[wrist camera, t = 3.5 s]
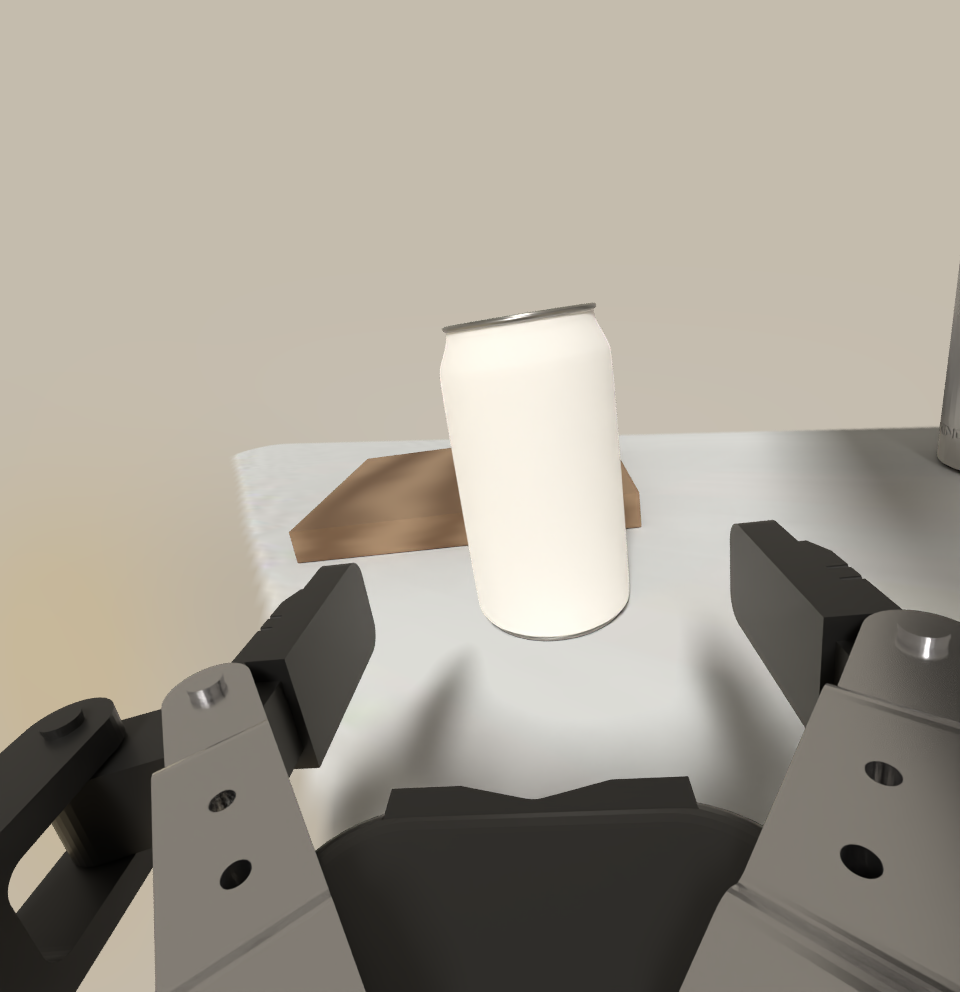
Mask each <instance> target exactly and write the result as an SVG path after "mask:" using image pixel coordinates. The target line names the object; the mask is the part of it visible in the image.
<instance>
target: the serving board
mask: <svg viewBox="0 0 960 992" xmlns="http://www.w3.org/2000/svg"><path fill="white" fill-rule="evenodd" d="M620 462H621V475H622V488H623V501H624V515H625V528H634V527H641V515H640V499H639V491H638V490H637V488H636V486H635V484H634V483H633V481H632V479H631V477H630V476H629V474H628V472H627V470H626V468H625V467H624V465H623V463H622V461H621V460H620ZM289 534H290V538H291V541H292V545H293V548H294V551H295V555H296V558H297V562H298V563H303V562H312V561H322V560H331V559H340V558H350V557H359V556H369V555H378V554H388V553H397V552H407V551H416V550H426V549H435V548H445V547H454V546H464V545H468V540H467V534H466V528H465V523H464V517H463V512H462V506H461V500H460V495H459V489H458V483H457V477H456V472H455V466H454V460H453V455H452V449H451V448H447V449H440V450H432V451H424V452H417V453H409V454H402V455H394V456H386V457H379V458H371V459H367V460H366V461H365V462H364V463H363V464H362V465H361V466H360V467H359V468H358V469H356V470H355V471H354V472H353V473H352V474H351V475H350V476H349V477H348V478H347V479H346V480H345V481H344V482H342V483H341V484H340V485H339V486H338V487H337V488H336V489H335V490H334V491H333V492H332V493H331V494H330V495H329V496H327V497H326V498H325V499H324V500H323V501H322V502H321V503H320V504H319V505H318V506H317V507H316V508H315V509H313V510H312V511H311V512H310V513H309V514H308V515H307V516H306V517H305V518H304V519H303V520H302V521H301V522H300V523H298V524H297V525H296V526H295V527H294V528H293V529H292V530H291V531H290V532H289Z"/></svg>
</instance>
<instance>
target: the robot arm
mask: <svg viewBox="0 0 960 992" xmlns="http://www.w3.org/2000/svg"><path fill="white" fill-rule="evenodd" d="M939 431H940V432H939V440H938V449H937V457H938V459H939V460H940V461H941V462H943V463H944V464H946V465H948V466H950V467H952V468H954V469H957V470H960V266H959V274H958V283H957V291H956V299H955V307H954V317H953V324H952V333H951V341H950V349H949V357H948V365H947V374H946V382H945V390H944V398H943V408H942V415H941V422H940V429H939ZM730 592H731V602H732V607H733V611H734V614H735V617H736V620H737V622H738V624H739V625H740V627H741V628H742V630H743V631H744V633H745V635H746V636H747V638H748V639H749V641H750V642H751V644H752V646H753V647H754V649H755V650H756V652H757V653H758V655H759V656H760V658H761V660H762V661H763V663H764V664H765V666H766V667H767V669H768V670H769V672H770V674H771V675H772V677H773V678H774V680H775V681H776V683H777V684H778V686H779V688H780V689H781V691H782V692H783V694H784V695H785V697H786V698H787V700H788V702H789V703H790V705H791V706H792V708H793V709H794V711H795V712H796V714H797V716H798V717H799V719H800V720H801V722H802V723H803V725H804V726H805V731H804V733H803V735H802V738H801V740H800V742H799V745H798V747H797V749H796V752H795V754H794V756H793V759H792V761H791V763H790V766H789V768H788V770H787V773H786V775H785V777H784V780H783V782H782V784H781V787H780V789H779V791H778V794H777V796H776V798H775V801H774V803H773V805H772V808H771V810H770V812H769V815H768V817H767V819H766V822H765V824H764V826H763V825H761V824H759V823H757V822H755V821H753V820H751V819H748V818H746V817H743V816H741V815H738V814H736V813H733V812H731V811H728V810H724V809H721V808H717V807H714V806H711V805H706V804H701V803H697V802H696V799H695V796H694V793H693V790H692V787H691V784H690V781H689V778H688V776H685V777H661V778H638V779H614V780H608V781H604V782H601V783H597V784H593V785H589V786H586V787H582V788H578V789H575V790H571V791H567V792H564V793H560V794H556V795H553V796H549V797H545V798H541V799H525V798H519V797H514V796H509V795H504V794H499V793H494V792H489V791H483V790H478V789H473V788H468V787H463V786H451V787H427V788H404V789H392V791H391V794H390V798H389V801H388V805H387V808H386V811H385V814H384V815H381V816H377V817H375V818H372V819H369V820H367V821H364V822H362V823H359V824H357V825H355V826H353V827H351V828H349V829H347V830H345V831H344V832H342V833H340V834H339V835H337V836H336V837H334V838H332V839H331V840H329V841H328V842H326V843H325V844H324V845H322V846H321V847H320V848H318V849H317V850H316V851H315V850H314V847H313V844H312V841H311V839H310V836H309V833H308V830H307V827H306V825H305V822H304V819H303V816H302V813H301V811H300V808H299V805H298V802H297V799H296V797H295V794H294V792H293V788H292V785H291V783H290V780H289V777H290V775H291V773H292V771H293V769H304V768H320V766H321V764H322V762H323V759H324V757H325V755H326V753H327V751H328V749H329V746H330V744H331V742H332V740H333V738H334V736H335V733H336V731H337V729H338V727H339V725H340V722H341V720H342V718H343V716H344V714H345V712H346V709H347V707H348V705H349V703H350V701H351V699H352V696H353V694H354V692H355V690H356V688H357V685H358V683H359V681H360V679H361V677H362V675H363V672H364V670H365V668H366V666H367V664H368V662H369V659H370V657H371V655H372V653H373V650H374V646H375V624H374V620H373V616H372V612H371V608H370V604H369V600H368V596H367V592H366V589H365V585H364V581H363V577H362V573H361V570H360V568H359V566H358V565H357V564H356V563H349V564H339V565H330V566H322V567H321V568H320V569H319V570H318V571H317V572H316V574H315V575H314V576H313V577H312V579H311V580H310V581H309V582H308V584H307V585H306V586H305V587H304V589H301V590H299V591H298V592H296V593H295V594H293V595H292V596H291V597H289V598H288V599H286V600H285V601H283V602H282V603H281V604H280V605H279V607H278V608H277V609H276V610H275V611H274V612H273V614H272V615H271V616H270V619H268V620H267V621H266V622H265V623H264V624H263V626H262V627H261V631H258V632H257V633H256V634H255V635H254V636H253V637H252V639H251V640H250V641H249V642H248V643H247V645H246V646H245V647H244V648H243V649H242V651H241V652H240V653H239V654H238V655H237V657H236V658H235V659H234V660H233V661H232V662H231V663H225V664H220V665H216V666H212V667H209V668H207V669H204V670H202V671H199V672H197V673H195V674H193V675H191V676H190V677H188V678H186V679H185V680H183V681H182V682H181V683H179V684H178V685H177V686H175V687H174V688H173V689H172V690H171V691H170V692H169V693H168V694H167V696H166V697H165V699H164V701H163V703H162V708H161V709H160V710H157V711H153V712H149V713H146V714H142V715H139V716H136V717H131V718H128V719H125V720H121V719H120V717H119V715H118V712H117V710H116V708H115V706H114V704H113V702H112V701H111V700H110V699H107V698H91V699H86V700H82V701H79V702H76V703H73V704H70V705H68V706H65V707H63V708H61V709H59V710H57V711H55V712H53V713H51V714H49V715H47V716H46V717H44V718H43V719H41V720H40V721H38V722H37V723H35V724H34V725H32V726H31V727H30V728H29V729H27V730H26V731H25V732H24V733H23V734H21V736H19V737H18V738H17V739H16V740H15V741H14V742H13V743H11V744H10V745H9V746H8V747H7V748H6V749H5V750H4V751H2V752H1V753H0V992H76V990H77V989H78V987H79V986H80V984H81V982H82V981H83V979H84V978H85V976H86V974H87V973H88V971H89V969H90V968H91V966H92V965H93V963H94V961H95V960H96V958H97V957H98V955H99V953H100V951H101V950H102V949H103V947H104V945H105V944H106V942H107V940H108V939H109V937H110V936H111V934H112V932H113V931H114V929H115V927H116V926H117V924H118V923H119V921H120V919H121V918H122V916H123V915H124V913H125V911H126V910H127V908H128V906H129V905H130V903H131V902H132V900H133V899H134V897H135V895H136V893H137V892H138V890H139V889H140V887H141V886H142V884H143V882H144V881H145V879H146V878H147V876H148V874H149V873H150V871H151V869H152V868H153V893H154V938H155V986H156V987H155V992H960V622H958V621H955V620H953V619H950V618H947V617H944V616H941V615H937V614H933V613H928V612H922V611H915V610H902V609H901V608H900V607H899V606H897V605H896V604H895V603H894V602H893V601H891V600H890V599H889V598H888V597H887V596H885V595H884V594H883V593H882V592H881V591H879V590H878V589H877V588H876V587H875V586H873V585H872V584H871V583H870V582H869V581H867V580H866V579H862V577H861V575H860V574H859V573H858V572H856V571H855V570H854V569H853V568H852V567H848V564H847V563H846V562H844V561H843V560H842V559H841V558H840V557H838V556H837V555H836V554H835V553H833V552H832V551H831V550H828V549H826V548H823V547H821V546H818V545H816V544H814V543H811V542H809V541H797V540H796V539H795V538H794V537H793V536H792V535H790V534H789V533H788V532H787V531H786V530H785V529H784V528H783V527H782V526H780V525H779V524H778V523H777V522H776V521H774V520H768V521H759V522H749V523H739V524H734V525H733V526H732V528H731V532H730ZM51 823H52V825H53V827H54V829H55V830H56V832H57V834H58V836H59V838H60V839H61V841H62V843H63V845H64V847H65V849H66V852H65V853H64V854H63V856H62V857H61V858H60V859H59V860H58V862H57V863H56V864H55V866H54V867H53V868H52V869H51V871H50V872H49V873H48V874H47V875H46V877H45V878H44V879H43V880H42V882H41V883H40V884H39V885H38V887H37V888H36V889H35V890H34V892H33V893H32V894H31V895H30V897H29V898H28V899H27V901H26V902H25V903H24V904H23V906H22V907H21V908H20V909H19V910H18V912H17V913H15V912H14V910H13V908H12V907H11V905H10V903H9V900H8V885H9V881H10V878H11V875H12V873H13V870H14V868H15V867H16V865H17V864H18V862H19V861H20V859H21V858H22V857H23V856H24V854H25V853H26V852H27V851H28V850H29V849H30V847H31V846H32V845H33V844H34V843H35V842H36V841H37V839H38V838H39V837H40V836H41V835H42V833H44V831H45V830H46V829H47V828H48V827H49V826H50V825H51Z"/></svg>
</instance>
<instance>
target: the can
mask: <svg viewBox="0 0 960 992" xmlns="http://www.w3.org/2000/svg"><path fill="white" fill-rule="evenodd" d="M595 307H596V304H595V303H588V304H580V305H574V306H567V307H560V308H554V309H547V310H541V311H535V312H529V313H523V314H517V315H511V316H504V317H498V318H492V319H487V320H481V321H475V322H470V323H464V324H458V325H453V326H448V327H444V328H443V329H442V330H443V332H445V333H446V346H445V350H444V354H443V358H442V362H441V366H440V383H441V389H442V396H443V402H444V408H445V414H446V419H447V425H448V431H449V437H450V443H451V449H452V455H453V460H454V466H455V472H456V477H457V483H458V489H459V495H460V500H461V506H462V512H463V517H464V523H465V528H466V534H467V540H468V545H469V551H470V556H471V562H472V568H473V573H474V578H475V584H476V589H477V594H478V599H479V604H480V607H481V610H482V612H483V614H484V615H485V616H486V617H487V618H488V619H489V620H490V621H491V622H492V623H493V624H495V625H496V626H498V627H499V628H500V629H502V630H503V631H505V632H506V633H509V634H511V635H514V636H517V637H520V638H524V639H530V640H540V641H554V640H565V639H571V638H576V637H580V636H583V635H586V634H589V633H592V632H594V631H596V630H598V629H600V628H602V627H604V626H606V625H607V624H608V623H610V622H611V621H612V620H613V619H614V618H615V617H616V616H617V615H618V614H619V612H620V611H621V610H622V609H623V608H624V606H625V605H626V603H627V601H628V598H629V572H628V556H627V542H626V528H625V515H624V501H623V488H622V475H621V462H620V449H619V435H618V423H617V411H616V399H615V386H614V374H613V364H612V354H611V348H610V344H609V342H608V340H607V338H606V337H605V335H604V333H603V331H602V330H601V328H600V326H599V325H598V323H597V321H596V319H595V315H594V310H593V309H594V308H595Z"/></svg>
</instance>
